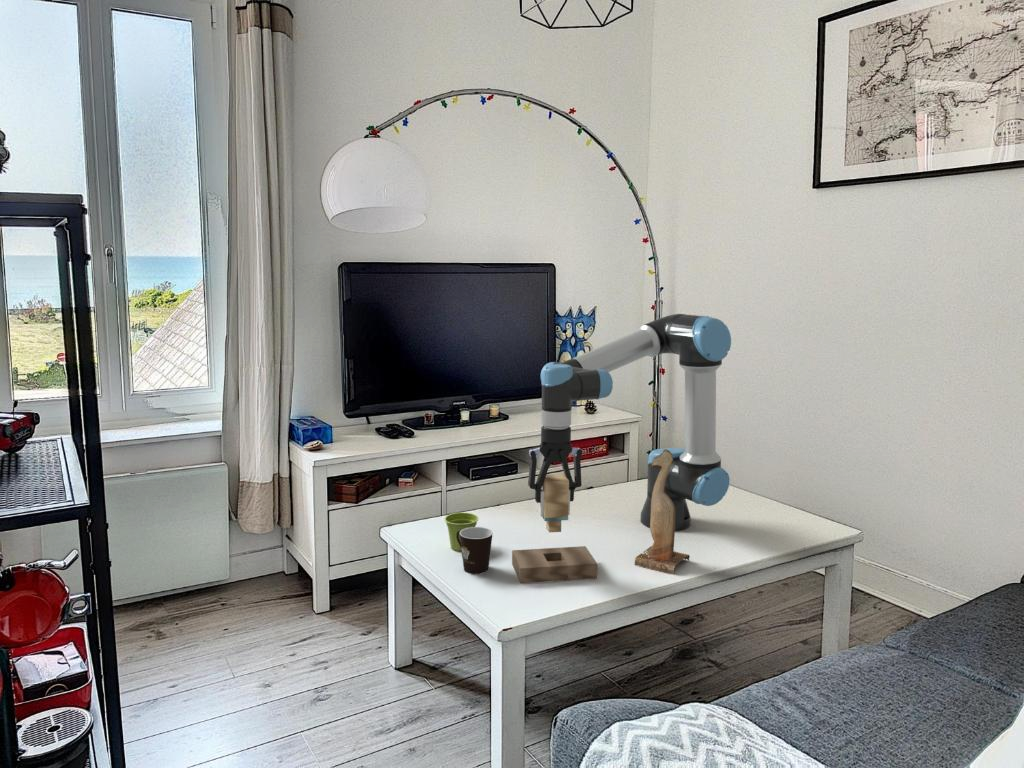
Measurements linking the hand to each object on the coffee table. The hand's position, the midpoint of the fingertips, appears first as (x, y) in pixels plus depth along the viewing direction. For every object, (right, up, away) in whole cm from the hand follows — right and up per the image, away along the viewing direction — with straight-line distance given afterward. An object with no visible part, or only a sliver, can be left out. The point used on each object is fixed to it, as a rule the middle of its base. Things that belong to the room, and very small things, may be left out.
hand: (554, 513), depth 202 cm
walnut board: (0, -15, +3) cm, 16 cm away
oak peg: (0, -4, +1) cm, 4 cm away
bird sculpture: (+29, -15, +9) cm, 34 cm away
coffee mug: (-21, -15, +5) cm, 26 cm away
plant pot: (-25, -13, +19) cm, 34 cm away
